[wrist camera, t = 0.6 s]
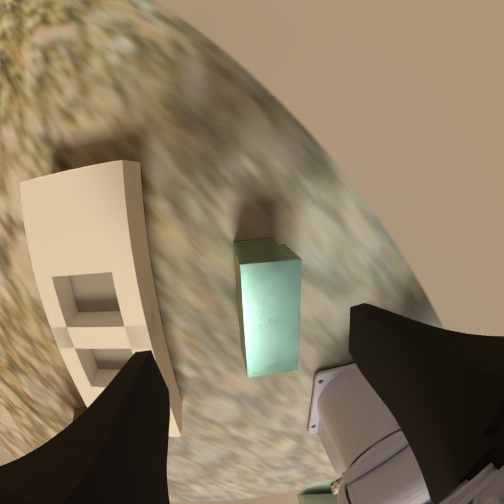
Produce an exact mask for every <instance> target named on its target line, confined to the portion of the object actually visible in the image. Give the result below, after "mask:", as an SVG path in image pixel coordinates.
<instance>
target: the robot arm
mask: <svg viewBox="0 0 504 504" xmlns="http://www.w3.org/2000/svg"><path fill="white" fill-rule="evenodd" d="M349 352H350V354H351V356H352V358H353V360H354V362H355V363H353V364H349V365H345V366H341V367H337V368H333V369H329V370H324V371H320V372H318V373H317V374H316V375H315V380H314V388H313V396H312V403H311V410H310V417H309V424H308V430H307V431H308V433H309V434H314V433H318V435H319V437H320V440H321V442H322V444H323V446H324V448H325V451H326V453H327V455H328V457H329V459H330V462H331V464H332V466H333V468H334V470H335V471H336V473H337V474H339V475H340V476H341V477H343V478H344V480H345V483H343V484H341V485H340V486H339V489H338V494H337V504H504V336H503V337H502V336H501V337H500V336H483V335H473V334H465V333H460V332H455V331H450V330H445V329H441V328H438V327H434V326H431V325H427V324H424V323H421V322H418V321H415V320H412V319H409V318H406V317H403V316H401V315H398V314H395V313H392V312H390V311H387V310H384V309H382V308H379V307H376V306H373V305H370V304H366V303H363V304H360V305H356V306H353V307H350V334H349ZM319 380H320V381H319ZM169 424H170V397H169V389H168V387H167V385H166V383H165V381H164V379H163V376H162V374H161V372H160V370H159V367H158V365H157V363H156V360H155V358H154V356H153V353H152V351H151V350H148V351H140V352H135V353H134V354H133V355H132V356H131V358H130V359H129V360H128V361H127V362H126V364H125V365H124V366H123V367H122V369H121V370H120V371H119V372H118V373H117V375H116V376H115V377H114V378H113V379H112V381H111V382H110V383H109V384H108V386H107V387H106V388H105V389H104V390H103V391H102V392H101V394H100V395H99V396H98V397H97V398H96V399H95V400H94V401H93V402H92V403H91V405H90V406H89V407H88V408H87V409H86V410H85V411H84V412H83V413H82V414H81V415H80V416H79V417H78V418H77V419H75V420H74V421H73V422H72V423H71V424H70V425H69V426H67V427H66V428H65V429H64V430H63V431H61V432H60V433H58V434H57V435H56V436H54V437H53V438H52V439H50V440H49V441H48V442H46V443H45V444H43V445H42V446H40V447H39V448H37V449H35V450H34V451H32V452H30V453H28V454H27V455H25V456H23V457H21V458H19V459H17V460H14V461H12V462H10V463H7V464H5V465H2V466H0V504H170V503H169V496H168V485H167V451H168V437H169Z"/></svg>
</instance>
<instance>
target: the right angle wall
mask: <svg viewBox="0 0 504 504" xmlns="http://www.w3.org/2000/svg"><path fill="white" fill-rule="evenodd" d="M343 483H345V480H344V478H343V477H341V478H339V479H338V481H333V482H328V483H324V484H320V485H316V486H312V487H309V488H306V489H304V490H303V491H301V492H300V493H298V494H297V496H298V500H299V503H300V504H337V494H338V489H339V486H340V485H341V484H343Z"/></svg>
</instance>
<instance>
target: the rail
mask: <svg viewBox="0 0 504 504" xmlns="http://www.w3.org/2000/svg"><path fill="white" fill-rule="evenodd" d="M20 192H21V202H22V211H23V218H24V225H25V231H26V237H27V243H28V248H29V253H30V257H31V262H32V266H33V270H34V274H35V278H36V282H37V286H38V289H39V293H40V296H41V300H42V303H43V306H44V309H45V312H46V315H47V318H48V321H49V324H50V327H51V330H52V332H53V335H54V338H55V340H56V343H57V345H58V348H59V350H60V352H61V355H62V357H63V360H64V362H65V364H66V366H67V368H68V371H69V373H70V375H71V377H72V379H73V381H74V383H75V385H76V387H77V389H78V391H79V393H80V395H81V397H82V399H83V401H84V402H85V404H86V406H87V408H88V407H89V406H90V405H91V403H92V402H93V401H94V400H95V399H96V398H97V397H98V396H99V395H100V394H101V392H102V391H103V390H104V389H105V388H106V387H107V386H108V384H109V383H110V382H111V381H112V379H113V378H114V377H115V376H116V375H117V373H118V372H119V371H120V370H121V369H122V367H123V366H124V365H125V364H126V362H127V361H128V360H129V359H130V358H131V356H132V355H133V354H134V353H135V352H140V351H148V350H151V351H152V353H153V356H154V358H155V360H156V363H157V365H158V367H159V370H160V372H161V374H162V376H163V379H164V381H165V383H166V385H167V387H168V389H169V397H170V424H169V437H181V430H182V400H181V397H180V394H179V390H178V387H177V383H176V379H175V376H174V372H173V368H172V364H171V360H170V356H169V352H168V348H167V344H166V340H165V335H164V331H163V326H162V322H161V317H160V312H159V307H158V302H157V297H156V291H155V286H154V280H153V274H152V268H151V261H150V254H149V247H148V240H147V232H146V224H145V215H144V205H143V194H142V182H141V167H140V162H134V161H127V160H118V161H112V162H106V163H101V164H96V165H90V166H85V167H81V168H76V169H71V170H67V171H62V172H58V173H54V174H50V175H46V176H42V177H38V178H35V179H31V180H27V181H24V182H20Z"/></svg>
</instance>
